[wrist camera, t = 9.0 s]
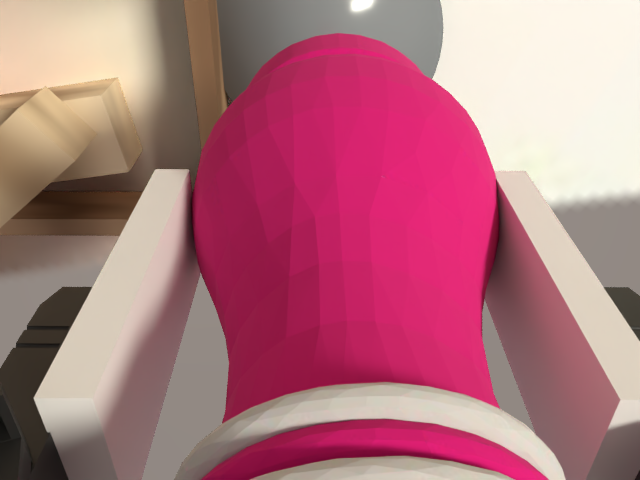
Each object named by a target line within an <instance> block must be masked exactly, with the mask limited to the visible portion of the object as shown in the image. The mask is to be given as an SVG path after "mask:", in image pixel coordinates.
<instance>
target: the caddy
mask: <svg viewBox="0 0 640 480" xmlns="http://www.w3.org/2000/svg"><path fill="white" fill-rule="evenodd" d="M184 6H185V15H186V23H187V32H188V41H189V49H190V58H191V66H192V75H193V83H194V92H195V100H196V109H197V117H198V126H199V134H200V143H201V152H202V149H203V147H204V145H205V143H206V141H207V139H208V137H209V135H210V133H211V131H212V129H213V127H214V125H215V124H216V122H217V121H218V120H219V118H220V117H221V116H222V114H223V113H224V112H225V110H226V109H227V108H228V98H227V93H226V91H225V89H224V81H223V70H222V58H221V47H220V36H219V24H218V13H217V1H216V0H184ZM142 193H143V192H65V191H41V192H40V193H39V194H38V195H37V196H35V197H34V198H33V199H32V200H31V201H30V202H29V203H28V204H27V205H25V206H24V207H23V208H22V209H21V210H20V211H19V212H18V213H16V214H15V215H14V216H13V217H12V218H11V219H10V220H9V221H8V222H6V223H5V224H4V225H3V226H2V227H1V228H0V235H108V236H120V235H121V233H122V231H123V229H124V227H125V225H126V223H127V221H128V220H129V218H130V216H131V214H132V212H133V210H134V208H135V206H136V205H137V203H138V201H139V199H140V197H141V195H142ZM192 195H193V192H192Z"/></svg>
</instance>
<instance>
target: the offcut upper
mask: <svg viewBox="0 0 640 480" xmlns="http://www.w3.org/2000/svg"><path fill="white" fill-rule="evenodd" d="M96 135H97V133H96V132H95V131H94V130H93V129H92V128H90V127H89V126H88V125H87V124H86V123H85V122H84V121H83V120H82V119H81V118H80V117H79V116H77V115H76V114H75V113H74V112H73V111H72V110H71V109H70V108H69V107H68V106H67V105H66V104H65V103H63V102H62V101H61V100H60V99H59V98H58V97H57V96H56V95H55V94H54V93H53V92H52V91H50V90H49V89H48V88H47V87H46V86H45V87H44V88H43V89H42V90H40V91H39V92H38V93H37V94H35V95H34V96H33V97H32V98H30V99H29V100H28V101H27V102H26V103H24V104H23V105H22V106H21V107H19V108H18V109H17V110H16V111H15V112H14V113H13V114H12V115H11V116H10V117H9V118H8V119H7V120H6V121H5V122H4V123H3V124H2V125H1V126H0V228H1V227H2V226H3V225H4V224H5V223H6V222H8V221H9V220H10V219H11V218H12V217H13V216H14V215H15V214H16V213H18V212H19V211H20V210H21V209H22V208H23V207H24V206H25V205H27V204H28V203H29V202H30V201H31V200H32V199H33V198H34V197H35V196H37V195H38V194H39V193H40V192H41V191H42V190H43V189H44V188H45V187H47V186H48V185H49V184H50V183H51V182H52V181H53V180H54V179H56V178H57V177H58V176H59V175H60V174H61V173H62V172H63V171H64V170H66V169H67V168H68V167H69V166H70V165H71V164H72V163H73V162H75V161H76V159H77V158H78V157H79V156H80V154H81V153H82V152H83V151H84V150H85V148H86V147H87V146H88V145H89V144H90V142H91V141H92V140H93V139H94V137H95V136H96Z"/></svg>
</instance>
